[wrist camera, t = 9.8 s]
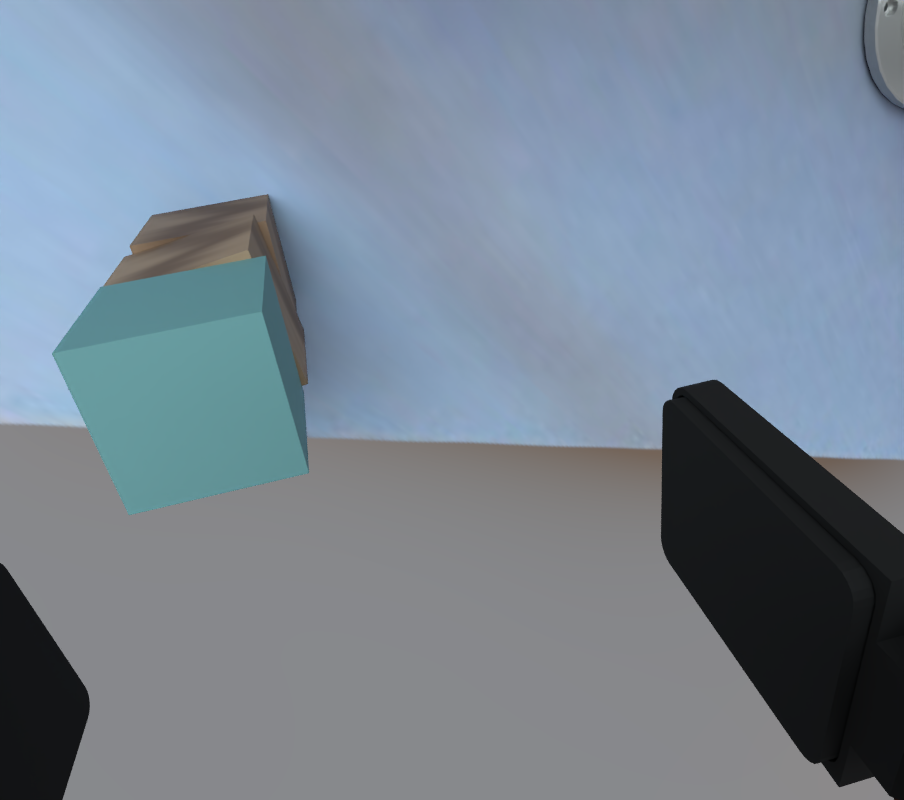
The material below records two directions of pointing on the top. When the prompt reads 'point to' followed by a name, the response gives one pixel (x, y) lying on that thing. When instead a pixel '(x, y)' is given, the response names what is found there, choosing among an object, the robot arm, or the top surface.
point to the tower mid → (215, 249)
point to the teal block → (188, 384)
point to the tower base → (209, 216)
